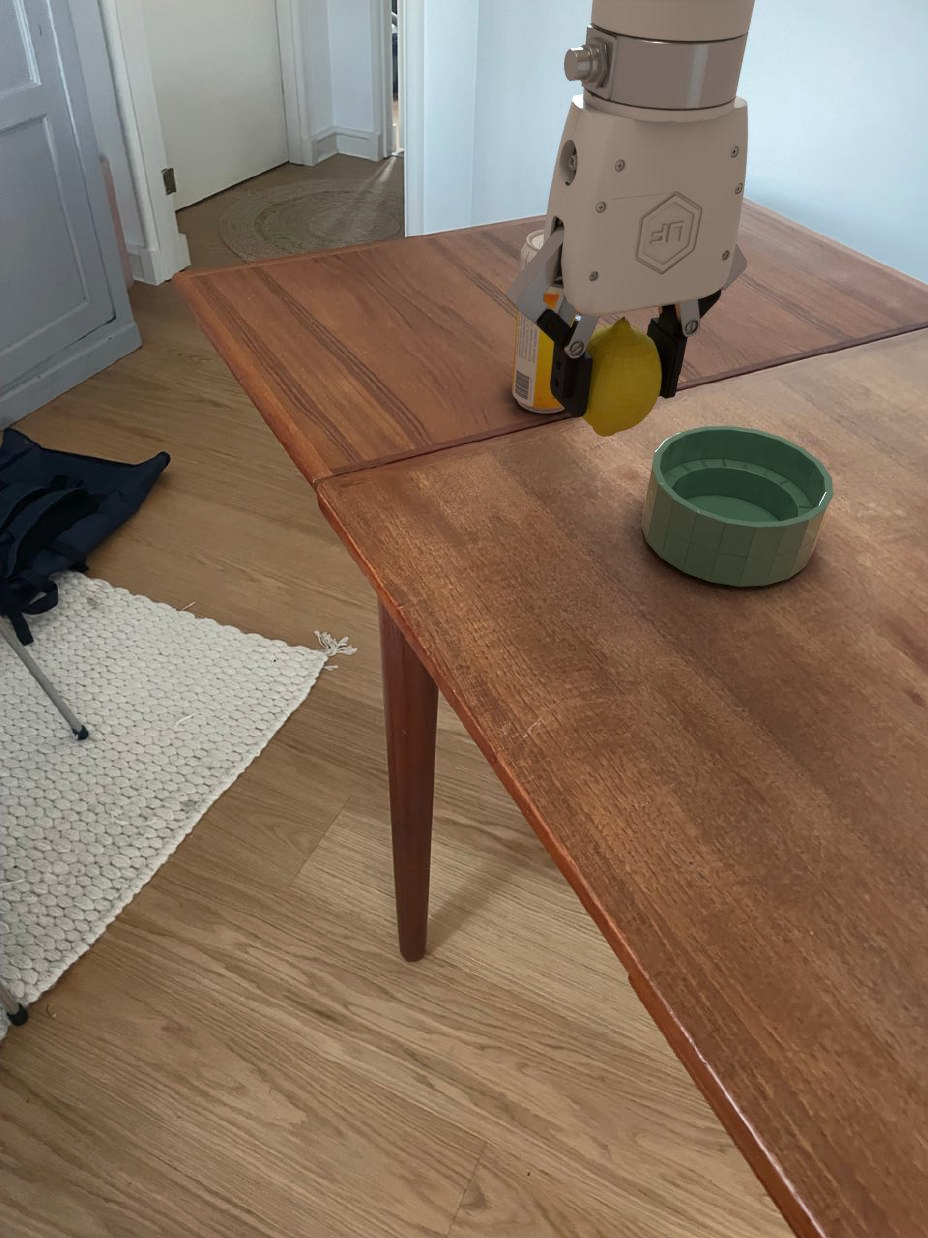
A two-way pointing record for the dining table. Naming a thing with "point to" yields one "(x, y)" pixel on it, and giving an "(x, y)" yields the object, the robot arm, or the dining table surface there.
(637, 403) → the fruit
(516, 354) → the beer can
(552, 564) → the dining table surface
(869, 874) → the dining table surface
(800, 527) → the green pet bowl
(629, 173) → the robot arm
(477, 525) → the dining table surface
